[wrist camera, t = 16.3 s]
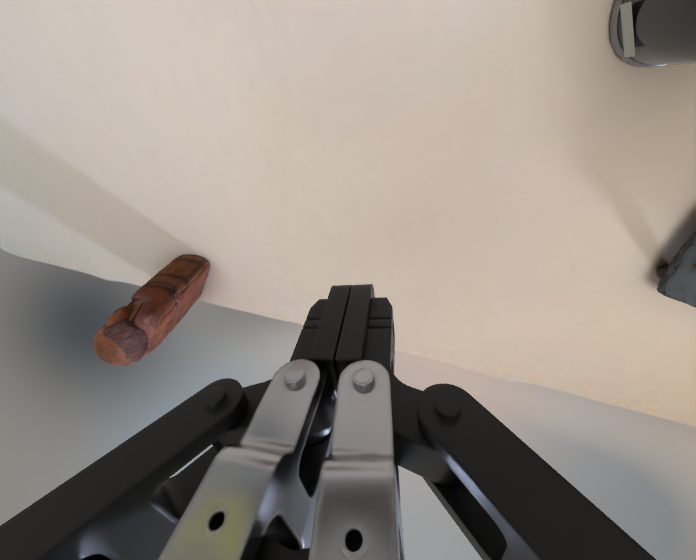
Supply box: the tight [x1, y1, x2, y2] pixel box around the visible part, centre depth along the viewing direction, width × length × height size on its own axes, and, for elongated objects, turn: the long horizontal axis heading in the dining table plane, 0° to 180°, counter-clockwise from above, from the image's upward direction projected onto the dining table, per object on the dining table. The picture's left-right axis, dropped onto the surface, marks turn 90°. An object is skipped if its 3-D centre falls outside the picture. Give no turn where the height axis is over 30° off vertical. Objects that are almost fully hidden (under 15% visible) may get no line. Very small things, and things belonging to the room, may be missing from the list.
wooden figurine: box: [94, 255, 209, 366], centre depth 43 cm, size 12×6×18 cm, turn 149°
